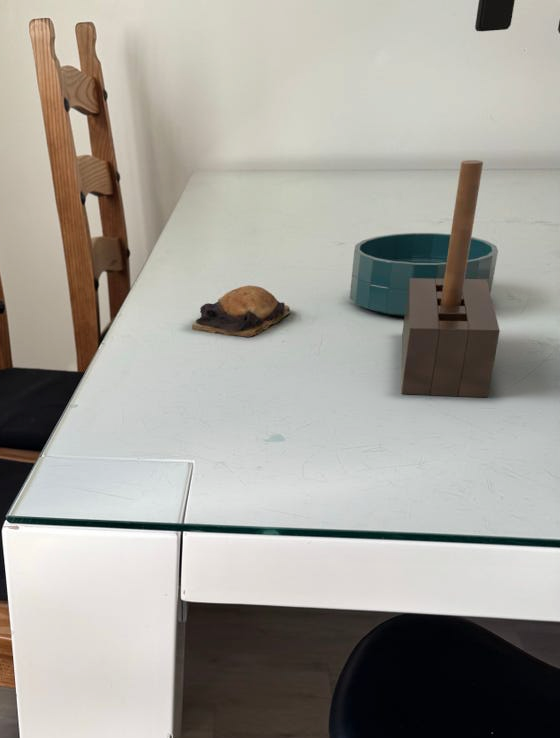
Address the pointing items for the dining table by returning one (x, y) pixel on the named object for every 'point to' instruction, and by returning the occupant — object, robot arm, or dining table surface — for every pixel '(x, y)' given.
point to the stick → (461, 232)
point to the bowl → (409, 267)
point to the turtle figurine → (241, 312)
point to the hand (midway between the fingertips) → (532, 31)
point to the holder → (448, 340)
